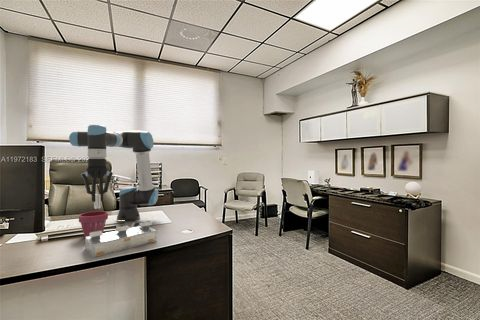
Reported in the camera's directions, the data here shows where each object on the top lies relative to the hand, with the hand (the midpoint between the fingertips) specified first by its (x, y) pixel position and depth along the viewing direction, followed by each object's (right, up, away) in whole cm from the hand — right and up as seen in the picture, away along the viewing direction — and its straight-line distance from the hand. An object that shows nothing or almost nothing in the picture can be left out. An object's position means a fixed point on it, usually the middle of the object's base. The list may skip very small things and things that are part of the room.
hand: (97, 208), depth 110 cm
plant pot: (-18, -21, +25) cm, 37 cm away
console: (+6, -21, +11) cm, 25 cm away
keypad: (+4, -22, +36) cm, 43 cm away
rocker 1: (-2, -13, +2) cm, 13 cm away
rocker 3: (+15, -13, +19) cm, 27 cm away
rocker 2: (+6, -13, +11) cm, 18 cm away
